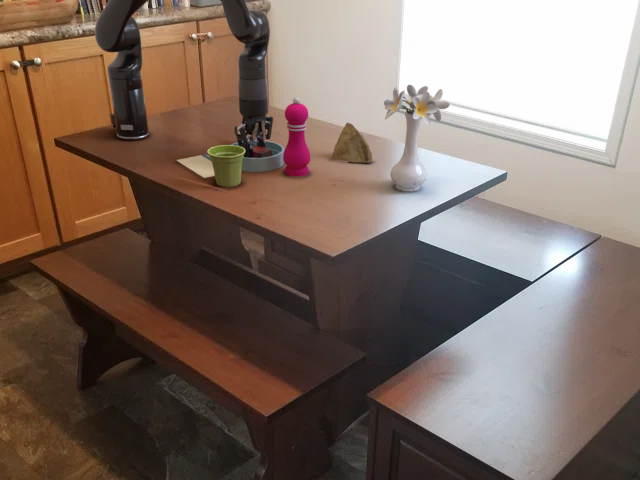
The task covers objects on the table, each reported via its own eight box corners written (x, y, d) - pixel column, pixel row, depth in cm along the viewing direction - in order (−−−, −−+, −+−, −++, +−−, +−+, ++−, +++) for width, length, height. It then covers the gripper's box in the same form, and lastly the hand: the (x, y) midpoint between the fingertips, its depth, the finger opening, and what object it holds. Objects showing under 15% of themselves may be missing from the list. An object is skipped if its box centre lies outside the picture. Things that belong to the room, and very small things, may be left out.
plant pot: (203, 181, 177) (200, 148, 172) (235, 174, 182) (234, 142, 177) (220, 193, 171) (218, 159, 166) (253, 186, 175) (252, 152, 170)
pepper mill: (314, 171, 185) (315, 95, 174) (304, 180, 179) (304, 102, 168) (289, 167, 187) (288, 92, 176) (279, 176, 181) (277, 98, 170)
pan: (217, 161, 190) (216, 146, 187) (265, 151, 198) (264, 136, 195) (246, 178, 180) (245, 162, 177) (295, 166, 188) (295, 151, 185)
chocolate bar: (239, 159, 188) (238, 147, 187) (249, 154, 192) (248, 143, 190) (262, 165, 185) (261, 153, 183) (272, 161, 188) (271, 149, 186)
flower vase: (445, 181, 182) (457, 83, 168) (412, 203, 169) (422, 99, 155) (403, 171, 188) (411, 75, 174) (367, 191, 175) (373, 89, 161)
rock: (382, 152, 193) (358, 139, 198) (373, 132, 185) (348, 119, 190) (357, 180, 192) (333, 166, 197) (347, 162, 184) (322, 147, 189)
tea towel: (176, 162, 188) (176, 159, 188) (205, 156, 193) (205, 154, 192) (204, 179, 178) (204, 177, 177) (234, 173, 182) (234, 170, 182)
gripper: (258, 87, 185) (260, 149, 195) (224, 98, 175) (227, 163, 185) (281, 91, 182) (282, 154, 192) (247, 103, 172) (249, 169, 181)
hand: (255, 158), depth 188 cm, fingers closed on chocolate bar, 4 cm apart
